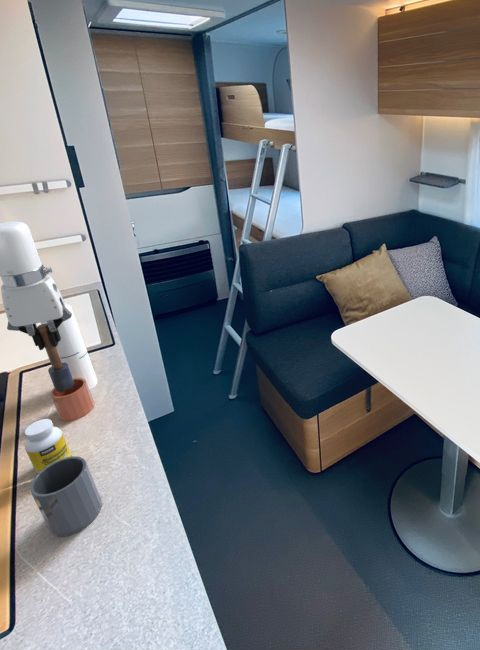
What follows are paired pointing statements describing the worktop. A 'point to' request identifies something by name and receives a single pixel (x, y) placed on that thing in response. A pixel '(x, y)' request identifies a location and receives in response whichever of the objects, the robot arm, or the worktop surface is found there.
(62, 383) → the brush
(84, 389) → the cup
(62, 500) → the tumbler
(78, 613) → the worktop surface
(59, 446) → the pill bottle
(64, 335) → the cylindrical container
